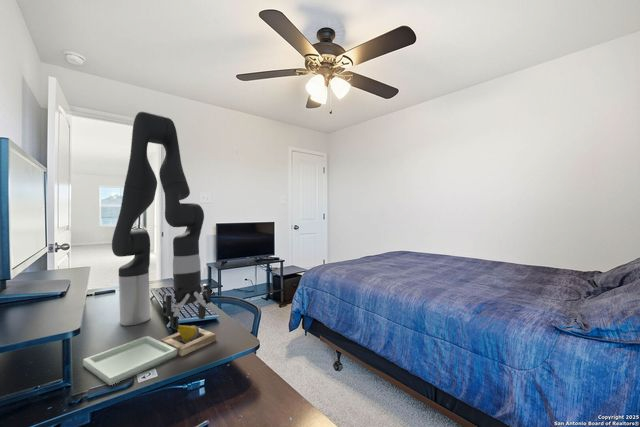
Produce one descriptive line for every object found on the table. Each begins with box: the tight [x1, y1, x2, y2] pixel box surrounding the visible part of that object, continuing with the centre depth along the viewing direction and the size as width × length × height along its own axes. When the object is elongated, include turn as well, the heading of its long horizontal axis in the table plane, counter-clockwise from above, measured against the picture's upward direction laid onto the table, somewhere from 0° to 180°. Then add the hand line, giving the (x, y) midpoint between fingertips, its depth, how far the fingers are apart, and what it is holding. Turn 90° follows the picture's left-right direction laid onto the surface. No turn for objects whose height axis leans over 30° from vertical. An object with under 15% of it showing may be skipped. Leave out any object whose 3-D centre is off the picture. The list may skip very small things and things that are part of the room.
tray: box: [82, 335, 178, 386], centre depth 77 cm, size 16×16×2 cm
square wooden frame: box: [159, 327, 217, 357], centre depth 87 cm, size 11×11×2 cm
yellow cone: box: [176, 324, 201, 344], centre depth 87 cm, size 5×5×10 cm
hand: (188, 323), depth 87 cm, fingers open, 8 cm apart
